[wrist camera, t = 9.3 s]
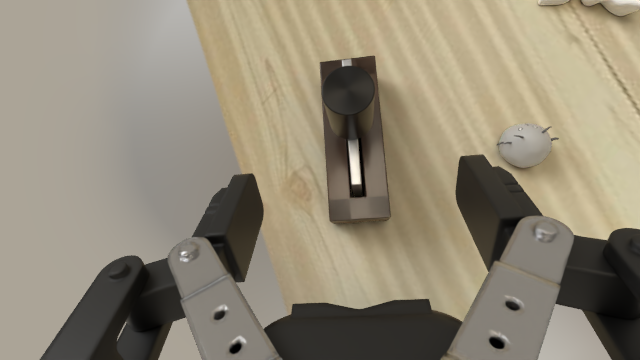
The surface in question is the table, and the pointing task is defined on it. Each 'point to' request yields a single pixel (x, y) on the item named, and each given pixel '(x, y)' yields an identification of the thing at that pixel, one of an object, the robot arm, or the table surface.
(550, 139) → the grey rounded lump
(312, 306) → the robot arm
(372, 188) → the knife holder
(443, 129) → the table surface
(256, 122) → the table surface
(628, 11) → the acanthus leaf ornament
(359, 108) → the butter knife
